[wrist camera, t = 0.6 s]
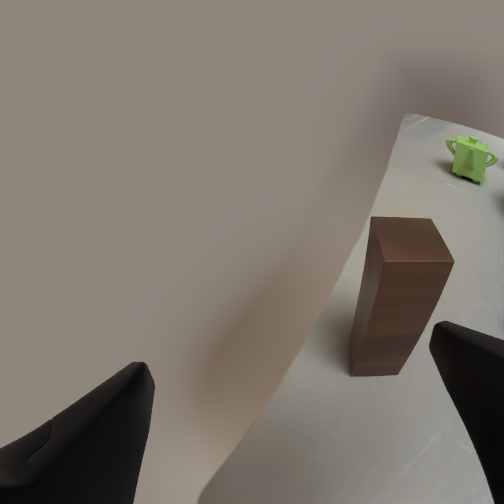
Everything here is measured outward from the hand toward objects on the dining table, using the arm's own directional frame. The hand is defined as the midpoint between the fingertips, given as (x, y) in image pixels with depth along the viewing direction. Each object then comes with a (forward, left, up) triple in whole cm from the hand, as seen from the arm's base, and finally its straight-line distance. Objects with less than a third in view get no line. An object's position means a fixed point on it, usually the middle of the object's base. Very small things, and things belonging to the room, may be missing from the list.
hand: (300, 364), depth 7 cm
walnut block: (+6, -10, -16) cm, 20 cm away
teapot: (+36, -62, -16) cm, 74 cm away
